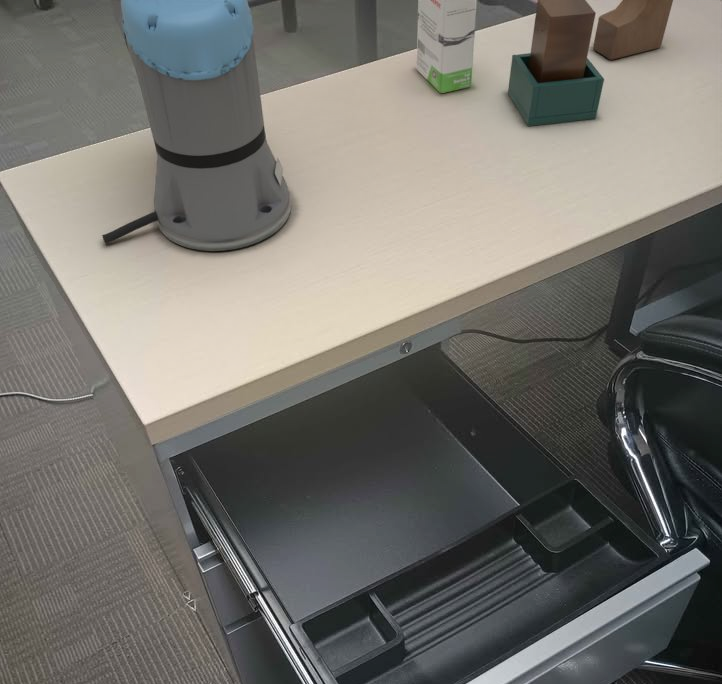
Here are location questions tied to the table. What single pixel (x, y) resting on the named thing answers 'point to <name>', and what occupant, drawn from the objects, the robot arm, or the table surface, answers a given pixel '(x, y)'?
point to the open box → (554, 94)
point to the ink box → (446, 42)
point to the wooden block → (632, 28)
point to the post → (561, 40)
